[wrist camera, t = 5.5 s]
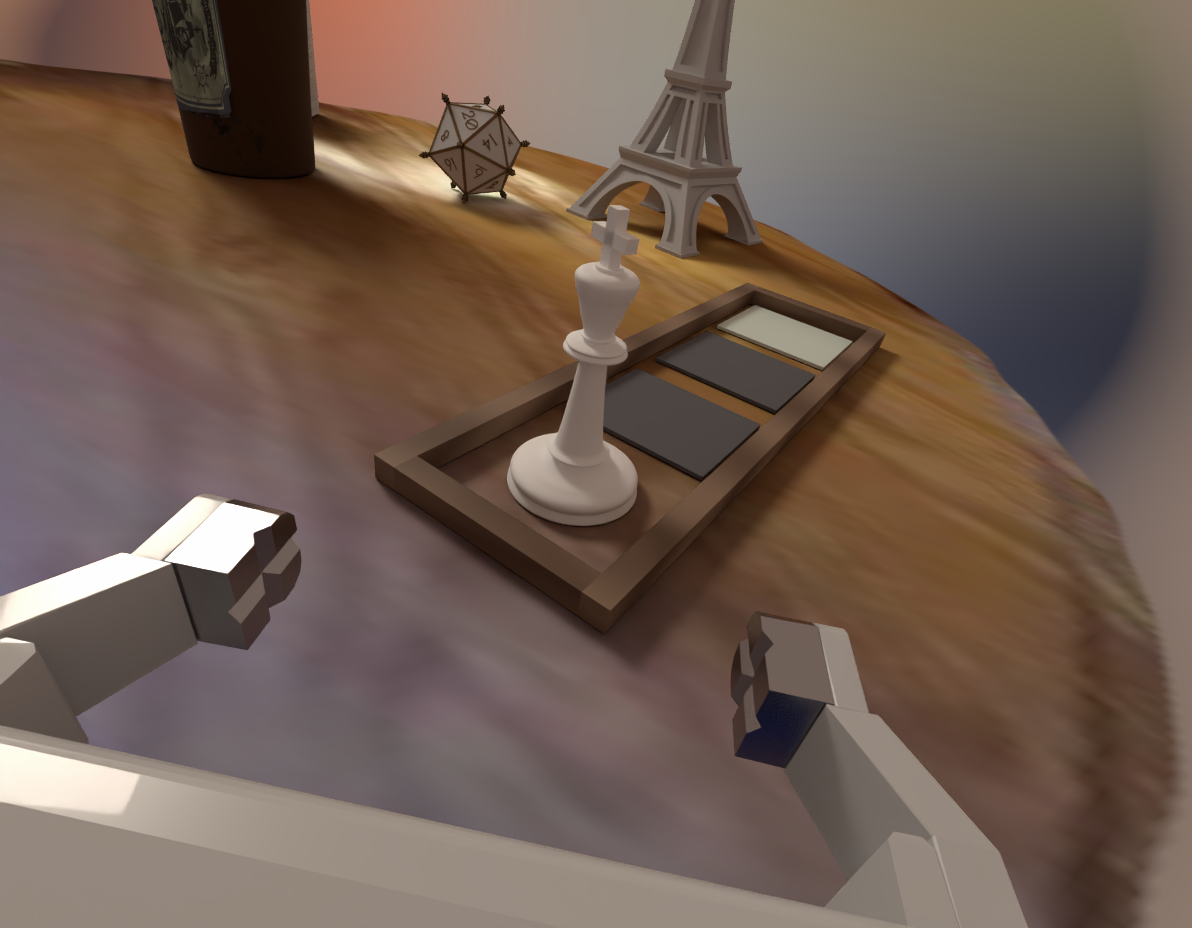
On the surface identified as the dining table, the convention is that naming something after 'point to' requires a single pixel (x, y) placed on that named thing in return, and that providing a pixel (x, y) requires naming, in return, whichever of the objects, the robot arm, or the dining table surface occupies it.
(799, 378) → the tiles
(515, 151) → the game die
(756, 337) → the pad
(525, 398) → the tray
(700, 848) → the dining table surface
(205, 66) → the olive oil
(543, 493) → the chess piece
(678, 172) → the eiffel tower
